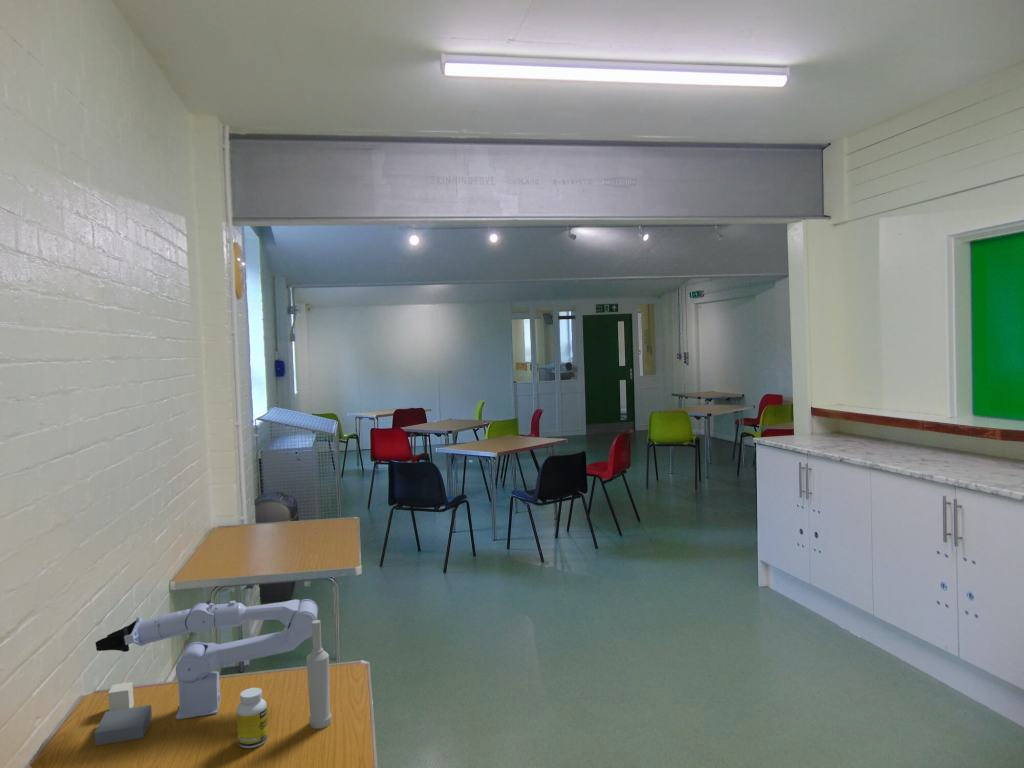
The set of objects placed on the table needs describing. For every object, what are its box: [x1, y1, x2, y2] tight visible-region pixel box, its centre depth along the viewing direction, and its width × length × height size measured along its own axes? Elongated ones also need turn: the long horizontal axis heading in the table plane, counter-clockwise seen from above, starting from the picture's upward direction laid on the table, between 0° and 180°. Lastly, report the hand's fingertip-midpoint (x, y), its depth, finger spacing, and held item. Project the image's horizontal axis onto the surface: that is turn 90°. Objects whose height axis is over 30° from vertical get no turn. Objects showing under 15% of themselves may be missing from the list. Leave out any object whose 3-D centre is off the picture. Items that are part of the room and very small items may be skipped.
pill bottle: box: [236, 687, 269, 749], centre depth 163 cm, size 6×6×12 cm
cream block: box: [107, 681, 135, 711], centre depth 179 cm, size 4×4×6 cm
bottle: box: [306, 619, 332, 730], centre depth 170 cm, size 5×5×25 cm
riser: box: [93, 704, 153, 747], centre depth 170 cm, size 10×10×3 cm
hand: (102, 642), depth 173 cm, fingers open, 7 cm apart
